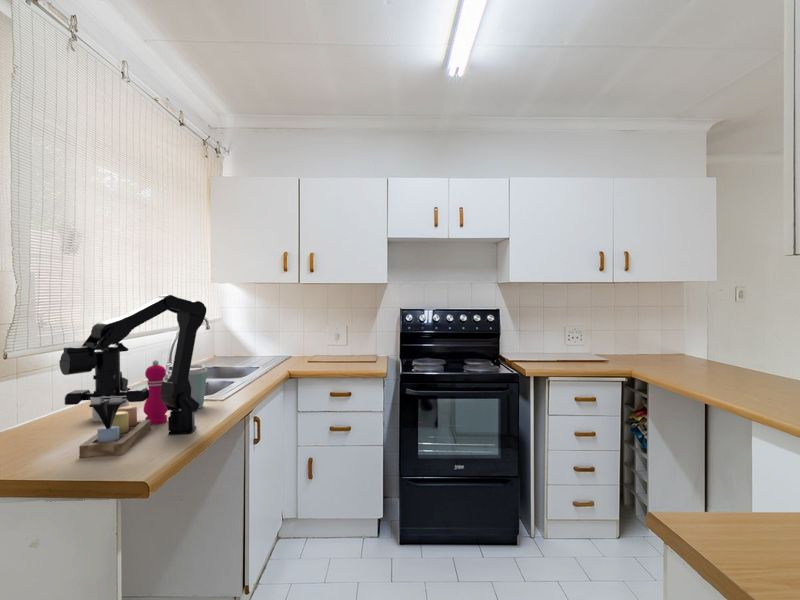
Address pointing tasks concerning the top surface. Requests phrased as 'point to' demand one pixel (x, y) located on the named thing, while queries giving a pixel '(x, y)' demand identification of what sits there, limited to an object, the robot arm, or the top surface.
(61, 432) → the top surface
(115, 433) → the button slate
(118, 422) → the button ochre
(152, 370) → the pepper mill
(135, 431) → the wooden compartment tray
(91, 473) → the top surface
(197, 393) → the disposable coffee cup
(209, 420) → the top surface
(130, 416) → the salmon rounded lump
